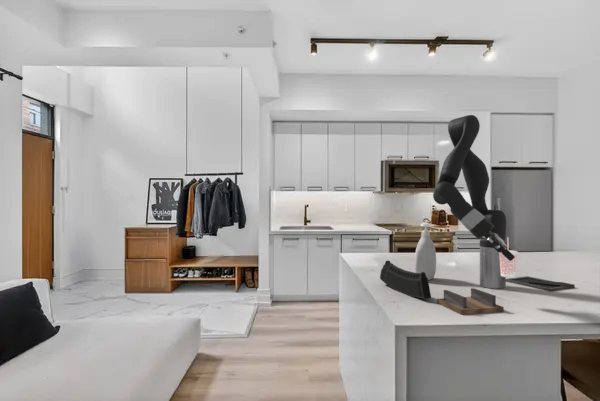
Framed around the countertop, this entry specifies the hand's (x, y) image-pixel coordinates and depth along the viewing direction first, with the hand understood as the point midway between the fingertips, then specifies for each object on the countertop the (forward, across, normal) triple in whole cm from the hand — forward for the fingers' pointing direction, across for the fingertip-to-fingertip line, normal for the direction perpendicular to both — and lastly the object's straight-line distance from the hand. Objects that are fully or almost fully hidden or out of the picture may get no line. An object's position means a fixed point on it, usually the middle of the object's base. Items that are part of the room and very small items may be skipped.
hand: (513, 257), depth 131 cm
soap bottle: (-13, +26, +38) cm, 48 cm away
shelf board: (+3, -12, +21) cm, 24 cm away
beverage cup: (+4, 0, +6) cm, 7 cm away
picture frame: (+18, +43, +8) cm, 47 cm away
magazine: (-15, -3, +40) cm, 43 cm away
